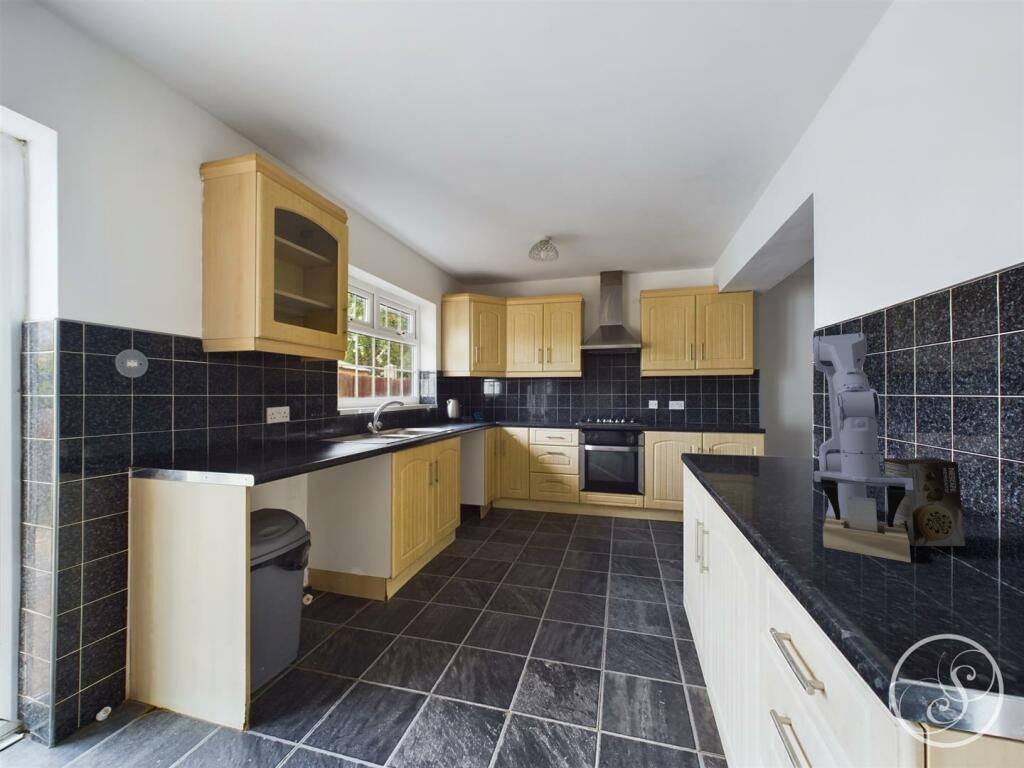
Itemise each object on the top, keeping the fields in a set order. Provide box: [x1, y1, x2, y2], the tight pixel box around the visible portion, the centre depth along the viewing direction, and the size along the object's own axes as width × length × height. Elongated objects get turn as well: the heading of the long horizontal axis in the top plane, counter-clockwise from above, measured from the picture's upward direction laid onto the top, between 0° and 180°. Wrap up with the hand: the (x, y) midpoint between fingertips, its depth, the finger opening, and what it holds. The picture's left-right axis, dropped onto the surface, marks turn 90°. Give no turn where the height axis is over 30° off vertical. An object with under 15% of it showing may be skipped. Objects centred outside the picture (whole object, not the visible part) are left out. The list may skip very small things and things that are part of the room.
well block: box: [822, 515, 912, 563], centre depth 78 cm, size 12×12×4 cm
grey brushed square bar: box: [848, 496, 878, 533], centre depth 78 cm, size 4×4×9 cm
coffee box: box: [883, 457, 966, 547], centre depth 80 cm, size 9×6×16 cm
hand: (863, 522), depth 79 cm, fingers open, 7 cm apart
